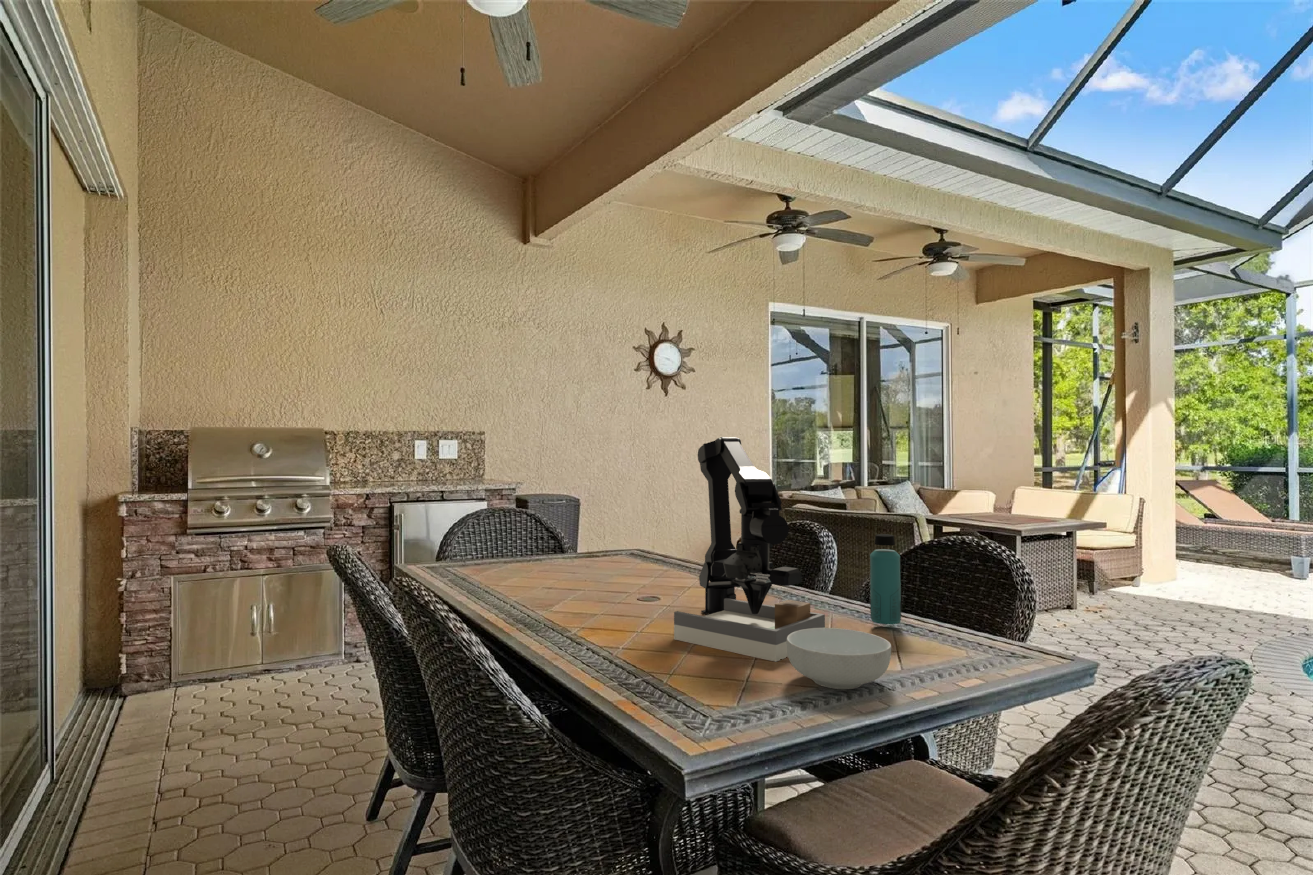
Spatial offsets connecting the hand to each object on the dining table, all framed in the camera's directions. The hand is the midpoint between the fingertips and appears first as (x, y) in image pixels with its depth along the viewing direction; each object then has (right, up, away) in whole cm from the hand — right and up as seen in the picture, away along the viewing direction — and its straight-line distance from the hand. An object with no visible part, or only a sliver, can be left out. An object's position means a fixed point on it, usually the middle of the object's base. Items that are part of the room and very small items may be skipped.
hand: (755, 614), depth 157 cm
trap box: (-2, -4, -3) cm, 6 cm away
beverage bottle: (+29, -5, +7) cm, 30 cm away
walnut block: (+7, -2, -6) cm, 9 cm away
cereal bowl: (+10, -5, -30) cm, 32 cm away
